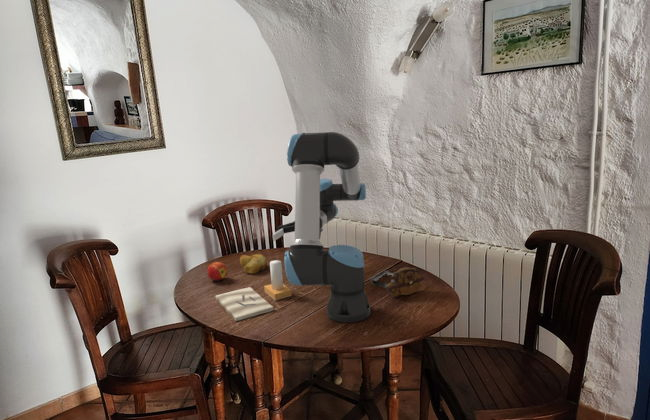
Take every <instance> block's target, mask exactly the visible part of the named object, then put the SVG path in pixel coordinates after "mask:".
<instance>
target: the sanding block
mask: <svg viewBox="0 0 650 420" xmlns="http://www.w3.org/2000/svg"><path fill="white" fill-rule="evenodd" d="M269 269H270V280H271V281H270V284H266V285H263V287H264V293H265V294H267V295H268V296H270V297H271V299H272V300H274V301H277V300H281V299H286V298H289V297H292V295H293V294H292V293H293V292H292V289H291V288H289V287H288V286H287V285H286V284H284V282H283V281H284V280H283V279H284V278H283V266H282V261H281V260H275V259H274V260H271V261H270V262H269Z"/></svg>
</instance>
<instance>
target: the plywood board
mask: <svg viewBox="0 0 650 420" xmlns="http://www.w3.org/2000/svg"><path fill="white" fill-rule="evenodd" d="M215 299H216V301H217V302H218V303H219V304H220V305H221V306H222V307H223V308H224V310H225V311H226V312H227V313H228V314H229V315H230V316H231V317H232V319H233V320H234V321H235V322H237V321H241V320H245V319H248V318H252V317H256V316H258V315H261V314H266V313H269V312H272V311H274V306H273V305H272V304H270V303H269V302H268V301H267V300H265V298H264V297H262V296H261V295H260V294H259V293H258V292H257V291H255V289H253V288H252V287H251V286H248V287H245V288H244V287H243V288H239V289H236V290H232V291H229V292H224V293H221V294H217V295H215Z"/></svg>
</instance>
